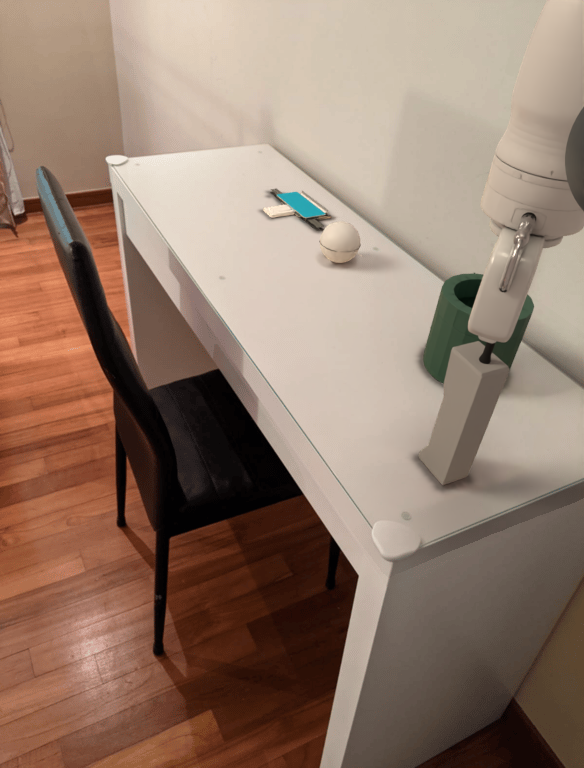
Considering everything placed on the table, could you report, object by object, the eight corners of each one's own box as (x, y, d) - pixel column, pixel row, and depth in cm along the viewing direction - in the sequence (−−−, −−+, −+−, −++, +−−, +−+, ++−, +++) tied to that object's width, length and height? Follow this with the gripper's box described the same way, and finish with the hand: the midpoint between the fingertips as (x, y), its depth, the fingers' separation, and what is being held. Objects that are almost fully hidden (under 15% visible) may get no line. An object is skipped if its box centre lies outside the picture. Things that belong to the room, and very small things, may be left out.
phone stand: (245, 195, 131) (246, 188, 130) (293, 189, 136) (294, 181, 135) (291, 235, 118) (292, 227, 117) (342, 226, 123) (343, 218, 122)
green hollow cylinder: (512, 357, 93) (539, 288, 85) (498, 403, 84) (527, 331, 76) (434, 333, 96) (453, 265, 88) (413, 375, 87) (432, 303, 79)
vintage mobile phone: (441, 450, 76) (503, 271, 60) (467, 478, 72) (539, 297, 57) (417, 458, 74) (473, 277, 58) (441, 487, 71) (508, 304, 55)
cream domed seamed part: (310, 254, 113) (314, 216, 108) (345, 249, 116) (350, 212, 111) (335, 280, 106) (341, 241, 102) (372, 274, 109) (379, 236, 104)
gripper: (564, 253, 43) (505, 400, 52) (584, 169, 58) (535, 294, 67) (476, 231, 45) (433, 376, 54) (517, 154, 60) (478, 278, 69)
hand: (490, 330), depth 61 cm, fingers closed
